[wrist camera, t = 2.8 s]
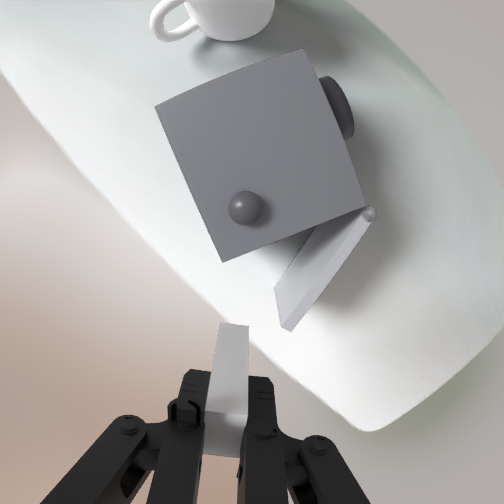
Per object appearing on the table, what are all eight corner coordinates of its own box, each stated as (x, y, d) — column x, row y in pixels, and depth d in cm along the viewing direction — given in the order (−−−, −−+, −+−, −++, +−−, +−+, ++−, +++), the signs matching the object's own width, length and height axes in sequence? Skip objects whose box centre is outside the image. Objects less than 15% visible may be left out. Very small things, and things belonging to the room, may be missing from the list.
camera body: (181, 121, 28) (150, 104, 18) (309, 72, 26) (334, 37, 17) (230, 235, 31) (222, 268, 21) (355, 186, 29) (398, 198, 20)
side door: (272, 287, 32) (279, 326, 24) (338, 192, 29) (367, 203, 22) (286, 295, 32) (297, 335, 25) (351, 201, 30) (384, 216, 22)
